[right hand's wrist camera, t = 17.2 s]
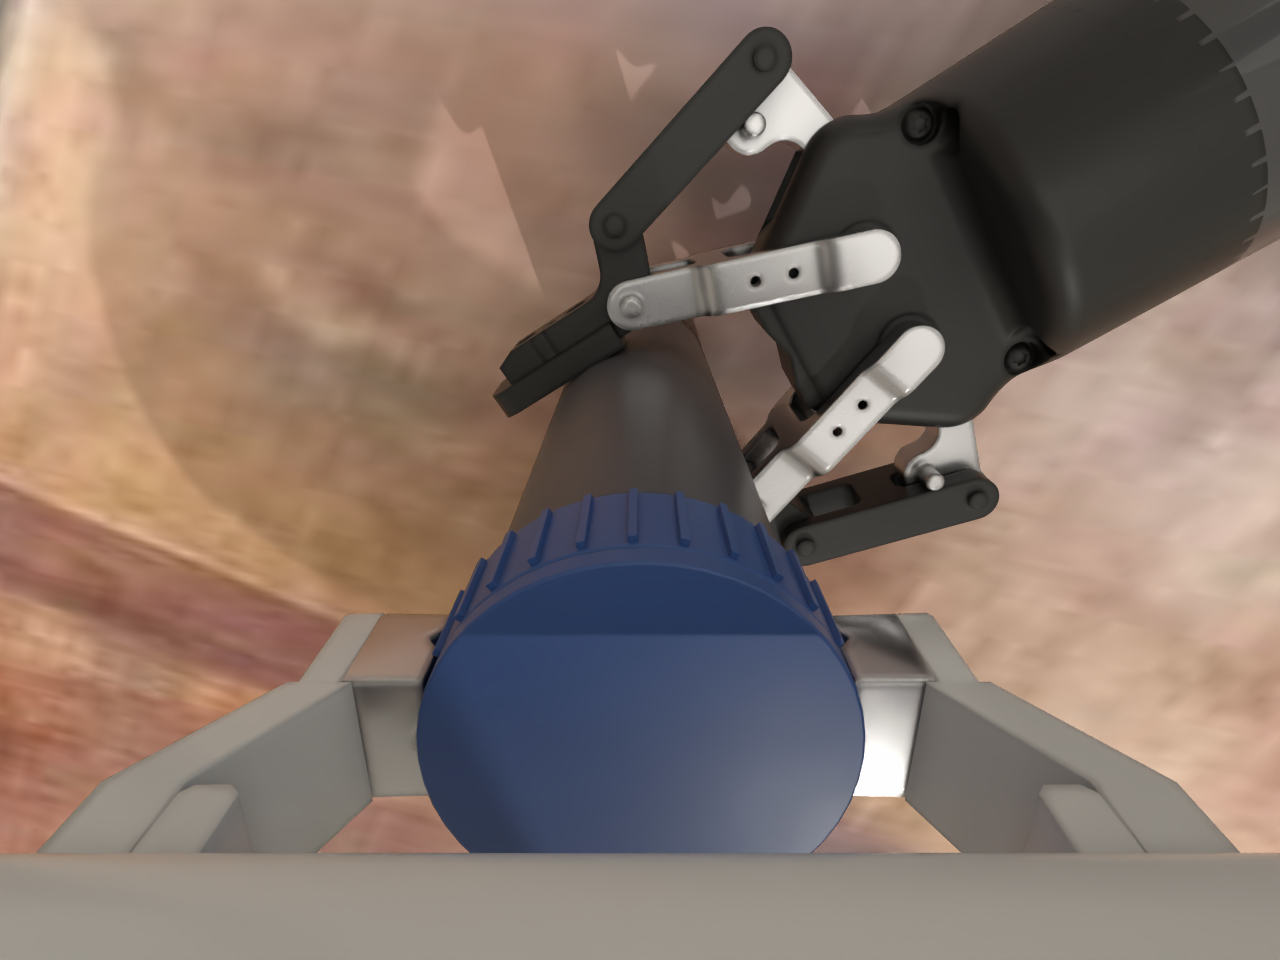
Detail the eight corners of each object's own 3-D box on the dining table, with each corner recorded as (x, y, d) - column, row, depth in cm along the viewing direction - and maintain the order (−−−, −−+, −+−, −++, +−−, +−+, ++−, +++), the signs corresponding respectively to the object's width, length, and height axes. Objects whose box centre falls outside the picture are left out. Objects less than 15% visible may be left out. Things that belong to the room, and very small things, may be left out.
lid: (910, 659, 10) (967, 758, 8) (642, 857, 12) (642, 978, 10) (640, 399, 9) (638, 453, 7) (371, 663, 10) (315, 762, 8)
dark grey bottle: (613, 456, 27) (568, 897, 10) (550, 345, 26) (375, 648, 9) (727, 401, 27) (884, 781, 10) (670, 282, 25) (735, 481, 8)
